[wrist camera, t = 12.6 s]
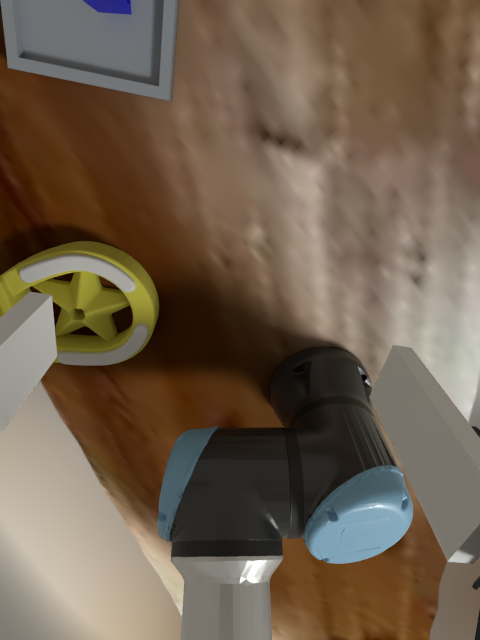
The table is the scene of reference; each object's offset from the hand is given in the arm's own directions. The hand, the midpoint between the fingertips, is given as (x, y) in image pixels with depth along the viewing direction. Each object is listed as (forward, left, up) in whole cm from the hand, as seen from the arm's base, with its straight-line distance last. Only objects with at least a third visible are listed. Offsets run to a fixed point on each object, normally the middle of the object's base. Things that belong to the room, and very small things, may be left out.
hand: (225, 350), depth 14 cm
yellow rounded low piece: (-17, +18, -32) cm, 41 cm away
